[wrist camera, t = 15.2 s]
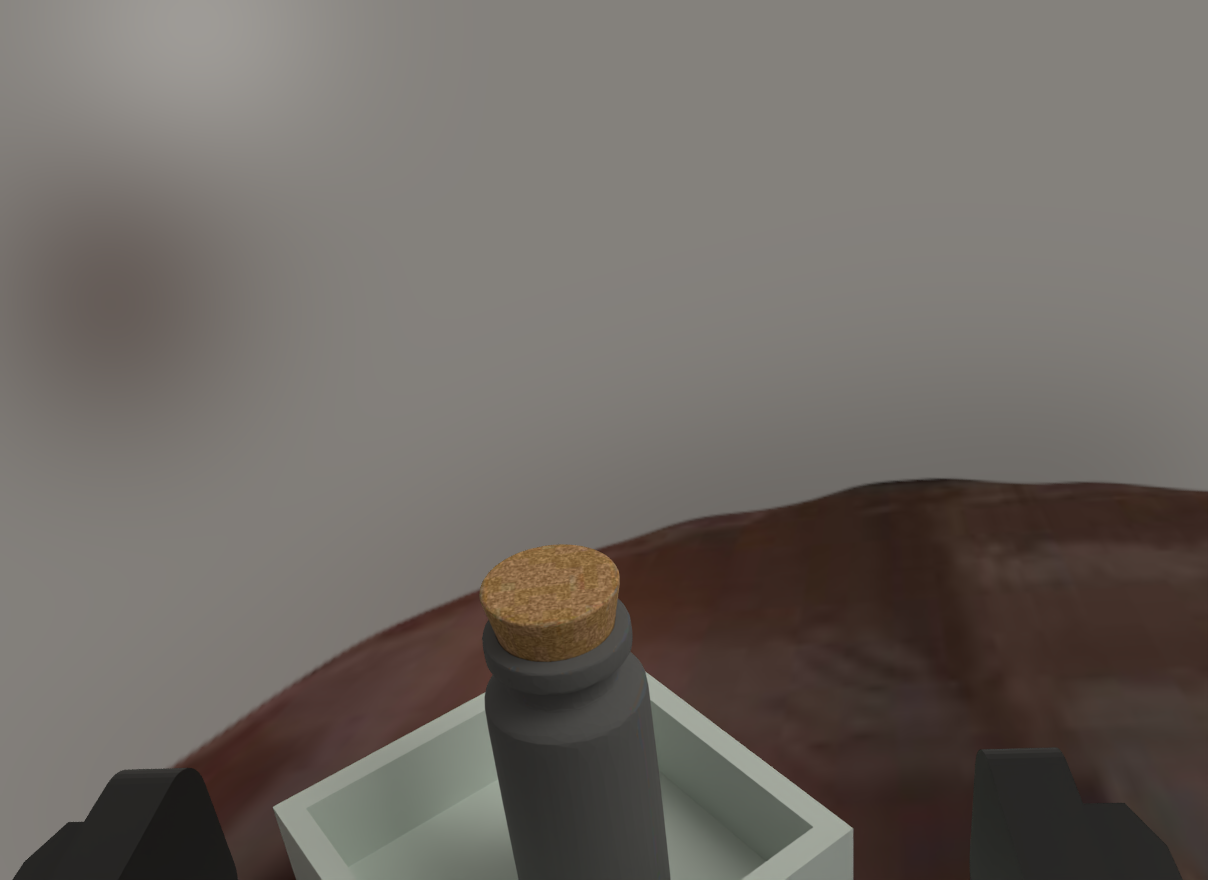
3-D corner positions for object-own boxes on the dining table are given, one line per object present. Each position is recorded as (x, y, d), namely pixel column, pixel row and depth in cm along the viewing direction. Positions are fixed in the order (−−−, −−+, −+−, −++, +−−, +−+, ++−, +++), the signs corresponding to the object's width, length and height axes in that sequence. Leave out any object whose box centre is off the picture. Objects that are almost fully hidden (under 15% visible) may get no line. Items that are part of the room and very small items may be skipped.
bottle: (550, 830, 48) (497, 529, 41) (686, 849, 46) (654, 538, 40) (503, 947, 43) (433, 627, 36) (653, 973, 41) (610, 642, 35)
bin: (605, 715, 56) (594, 633, 53) (853, 922, 44) (853, 828, 41) (300, 894, 48) (272, 807, 45) (502, 1205, 36) (477, 1108, 34)
